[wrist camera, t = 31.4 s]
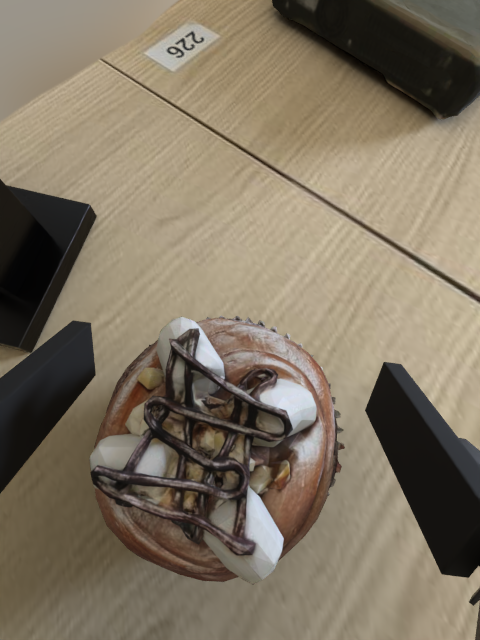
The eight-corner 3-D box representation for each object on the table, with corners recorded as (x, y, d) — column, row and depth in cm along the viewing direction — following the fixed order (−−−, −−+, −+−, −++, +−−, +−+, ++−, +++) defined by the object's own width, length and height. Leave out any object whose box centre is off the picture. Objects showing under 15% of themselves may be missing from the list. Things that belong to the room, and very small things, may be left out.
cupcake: (295, 548, 15) (411, 740, 6) (111, 497, 16) (-58, 602, 6) (324, 365, 19) (429, 301, 9) (170, 325, 19) (119, 224, 9)
